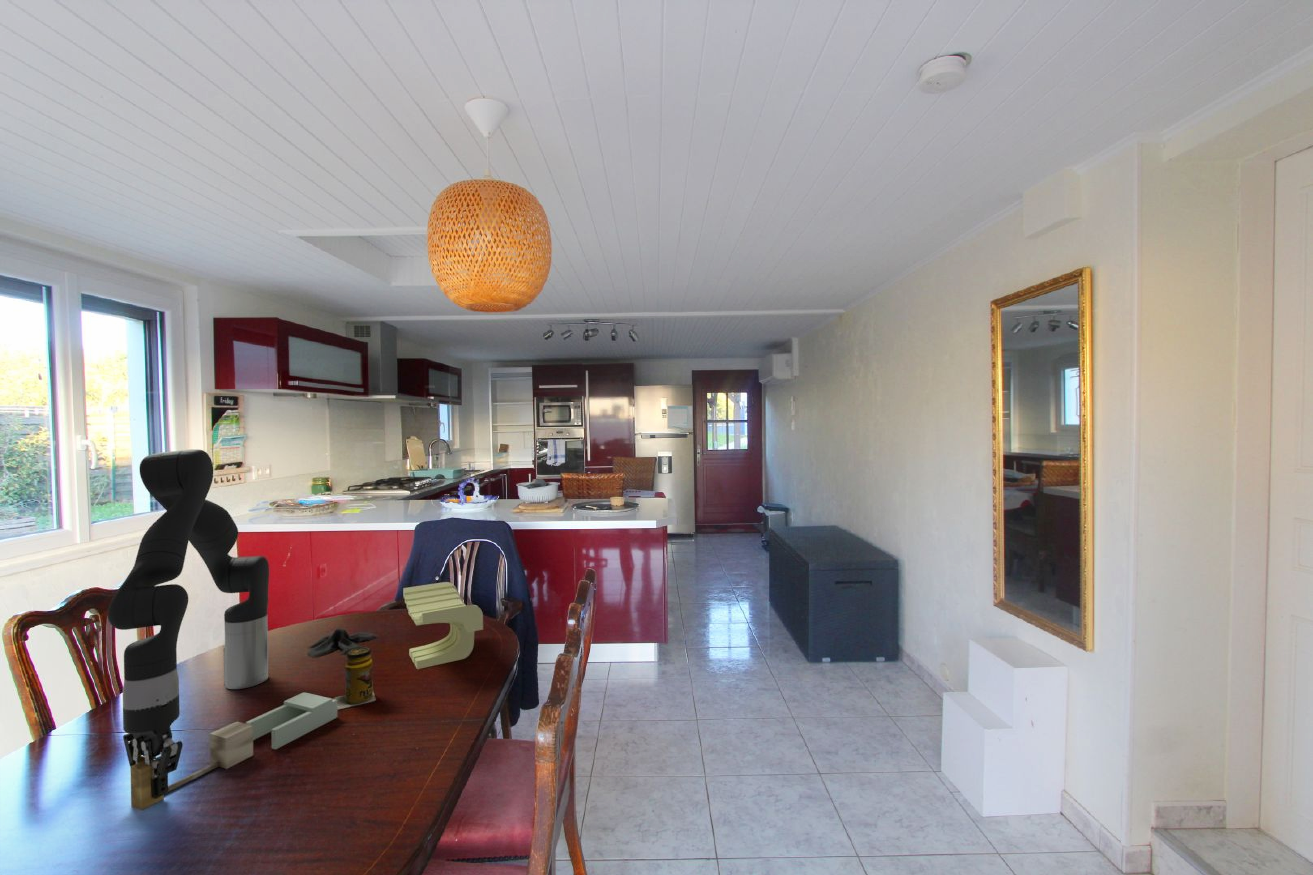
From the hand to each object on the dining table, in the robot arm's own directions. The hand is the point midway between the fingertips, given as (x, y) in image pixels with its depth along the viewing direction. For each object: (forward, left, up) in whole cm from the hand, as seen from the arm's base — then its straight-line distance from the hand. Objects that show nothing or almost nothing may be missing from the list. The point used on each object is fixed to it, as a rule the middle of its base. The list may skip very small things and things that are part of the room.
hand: (153, 792), depth 100 cm
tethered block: (0, +7, -1) cm, 7 cm away
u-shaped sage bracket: (0, +26, -1) cm, 26 cm away
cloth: (-36, +65, -2) cm, 74 cm away
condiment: (+1, +41, -1) cm, 41 cm away
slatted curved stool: (+1, +70, -1) cm, 70 cm away
